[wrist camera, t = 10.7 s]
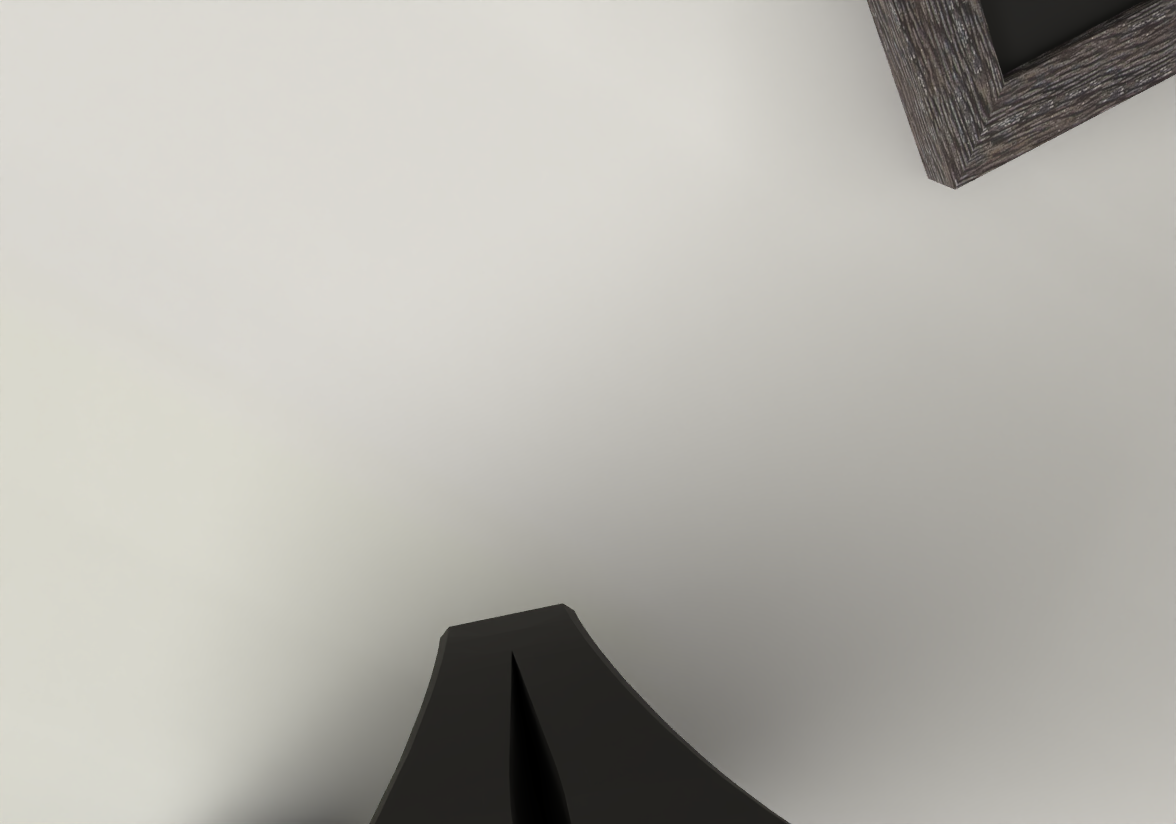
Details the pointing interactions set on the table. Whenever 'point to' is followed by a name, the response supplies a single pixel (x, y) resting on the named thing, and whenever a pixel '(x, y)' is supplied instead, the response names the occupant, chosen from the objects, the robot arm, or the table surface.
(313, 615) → the table surface
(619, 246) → the table surface
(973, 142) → the picture frame
